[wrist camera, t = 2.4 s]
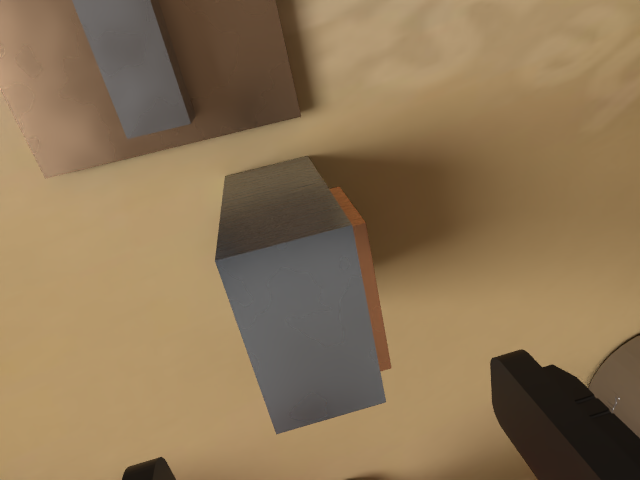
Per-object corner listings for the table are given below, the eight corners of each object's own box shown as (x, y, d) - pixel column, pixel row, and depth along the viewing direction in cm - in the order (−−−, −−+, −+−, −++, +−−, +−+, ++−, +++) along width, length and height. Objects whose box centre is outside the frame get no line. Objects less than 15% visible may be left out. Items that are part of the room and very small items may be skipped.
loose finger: (346, 277, 24) (402, 397, 15) (263, 299, 23) (276, 434, 15) (320, 152, 21) (371, 219, 12) (224, 176, 20) (215, 260, 12)
